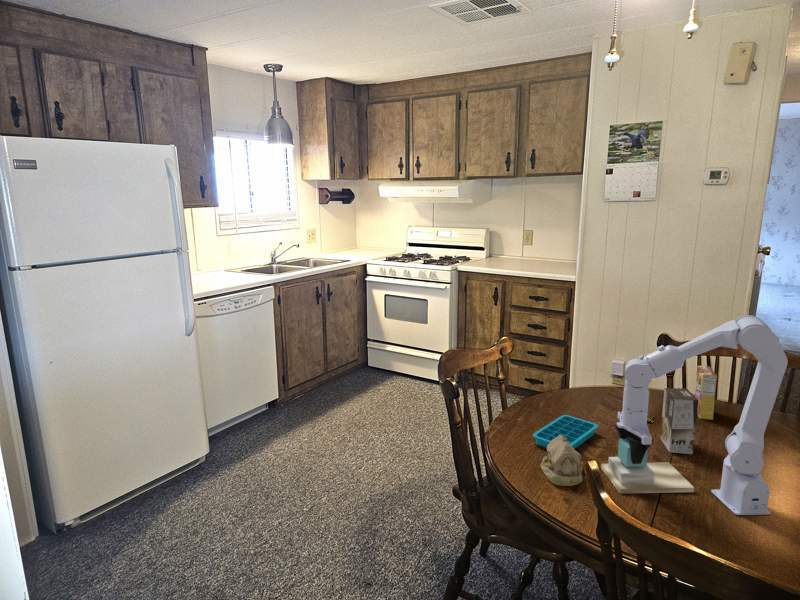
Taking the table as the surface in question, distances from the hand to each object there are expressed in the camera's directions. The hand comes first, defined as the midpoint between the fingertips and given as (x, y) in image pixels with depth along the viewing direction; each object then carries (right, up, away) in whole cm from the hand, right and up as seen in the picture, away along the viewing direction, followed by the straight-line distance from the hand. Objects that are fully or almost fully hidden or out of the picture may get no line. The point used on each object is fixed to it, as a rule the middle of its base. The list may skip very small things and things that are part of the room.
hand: (631, 457), depth 128 cm
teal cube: (0, -1, 0) cm, 1 cm away
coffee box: (+21, -3, +18) cm, 28 cm away
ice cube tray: (-9, -2, +24) cm, 26 cm away
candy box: (+41, +2, +38) cm, 56 cm away
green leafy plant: (+18, +1, +37) cm, 41 cm away
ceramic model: (-15, -6, +6) cm, 18 cm away
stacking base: (+4, -6, +1) cm, 7 cm away
